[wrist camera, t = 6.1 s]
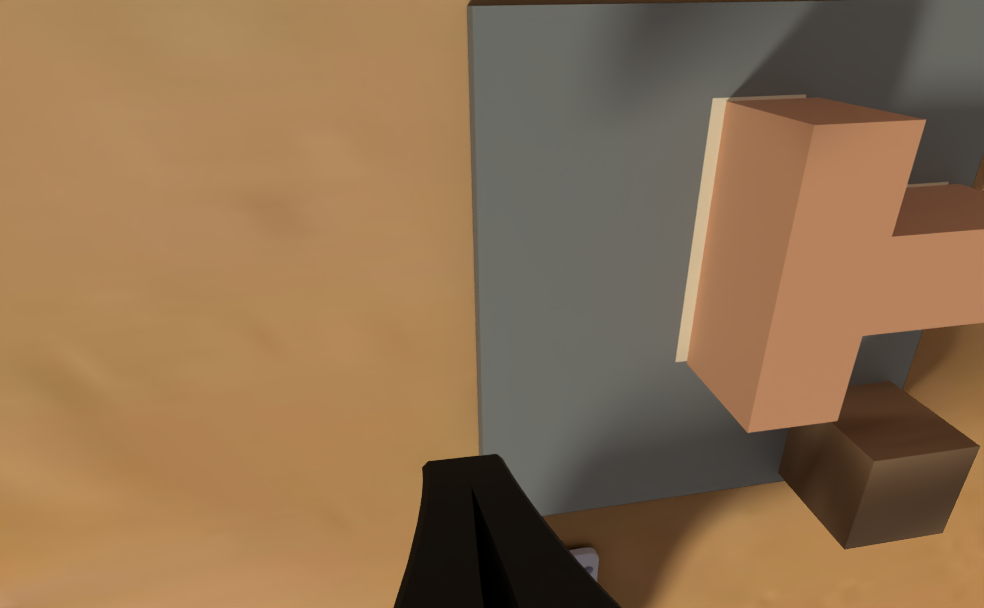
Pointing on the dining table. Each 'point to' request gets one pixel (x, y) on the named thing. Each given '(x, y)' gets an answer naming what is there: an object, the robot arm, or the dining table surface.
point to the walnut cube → (878, 467)
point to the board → (660, 216)
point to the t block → (823, 255)
